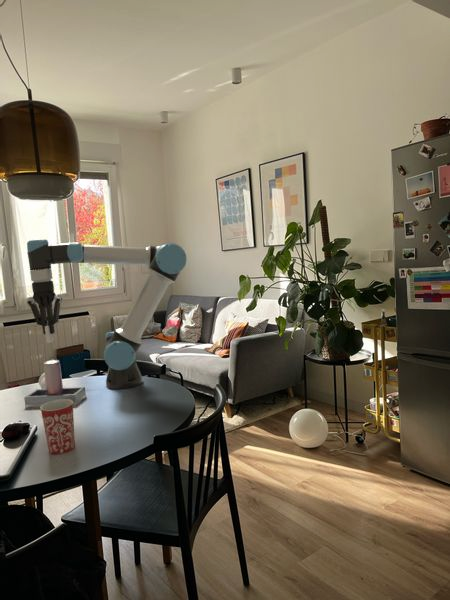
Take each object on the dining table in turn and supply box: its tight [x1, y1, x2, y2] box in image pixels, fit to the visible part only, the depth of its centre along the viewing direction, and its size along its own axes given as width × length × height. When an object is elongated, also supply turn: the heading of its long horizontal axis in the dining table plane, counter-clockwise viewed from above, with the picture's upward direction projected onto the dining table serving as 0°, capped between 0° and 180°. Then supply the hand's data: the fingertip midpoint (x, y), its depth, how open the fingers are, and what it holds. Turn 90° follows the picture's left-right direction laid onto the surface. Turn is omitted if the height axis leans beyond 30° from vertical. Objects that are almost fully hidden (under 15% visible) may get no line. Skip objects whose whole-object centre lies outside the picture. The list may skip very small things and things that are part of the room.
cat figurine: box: [38, 372, 46, 389], centre depth 192 cm, size 10×8×15 cm
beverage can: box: [43, 359, 64, 395], centre depth 175 cm, size 6×6×15 cm
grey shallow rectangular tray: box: [24, 386, 87, 409], centre depth 176 cm, size 20×10×4 cm, turn 85°
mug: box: [39, 399, 76, 455], centre depth 133 cm, size 13×9×14 cm
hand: (50, 342), depth 173 cm, fingers closed
